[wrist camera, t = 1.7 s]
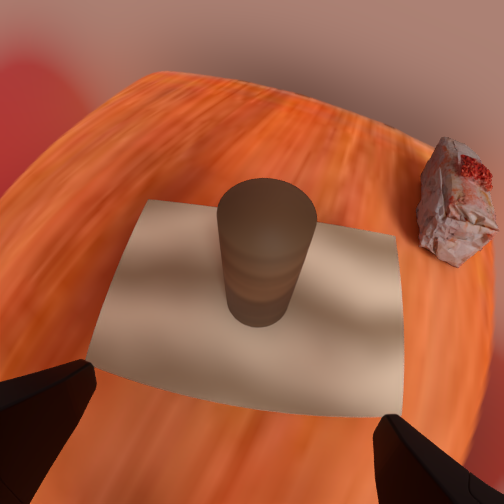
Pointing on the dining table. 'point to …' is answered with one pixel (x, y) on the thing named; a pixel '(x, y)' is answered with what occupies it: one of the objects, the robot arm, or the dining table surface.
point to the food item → (455, 203)
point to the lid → (257, 307)
